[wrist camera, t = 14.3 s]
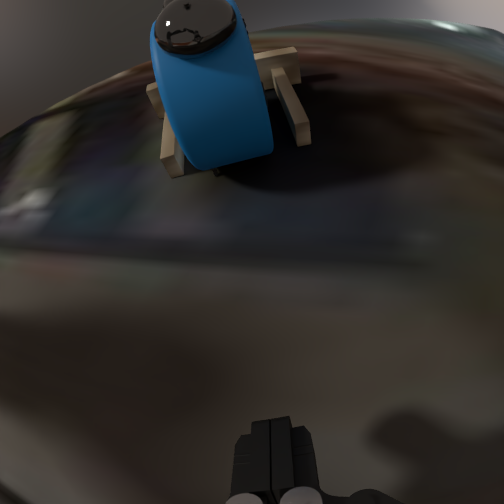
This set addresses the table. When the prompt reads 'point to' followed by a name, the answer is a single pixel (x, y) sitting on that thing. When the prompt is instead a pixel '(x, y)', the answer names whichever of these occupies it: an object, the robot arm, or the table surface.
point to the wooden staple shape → (273, 76)
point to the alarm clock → (210, 82)
